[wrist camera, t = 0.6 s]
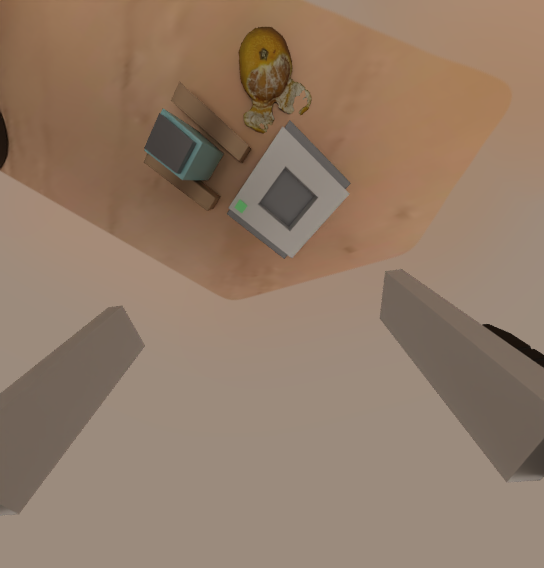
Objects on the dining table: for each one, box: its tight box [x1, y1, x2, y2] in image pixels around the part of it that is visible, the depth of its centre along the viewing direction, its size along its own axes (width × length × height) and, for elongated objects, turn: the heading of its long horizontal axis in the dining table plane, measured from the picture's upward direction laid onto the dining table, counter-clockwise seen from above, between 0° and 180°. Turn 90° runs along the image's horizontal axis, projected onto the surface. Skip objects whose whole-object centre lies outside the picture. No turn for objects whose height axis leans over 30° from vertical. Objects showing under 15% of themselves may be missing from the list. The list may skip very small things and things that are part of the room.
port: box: [227, 121, 351, 259], centre depth 28 cm, size 11×14×4 cm
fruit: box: [239, 27, 311, 133], centre depth 23 cm, size 8×8×4 cm
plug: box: [144, 109, 224, 180], centre depth 23 cm, size 4×4×10 cm
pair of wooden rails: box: [144, 82, 251, 211], centre depth 26 cm, size 9×9×3 cm
